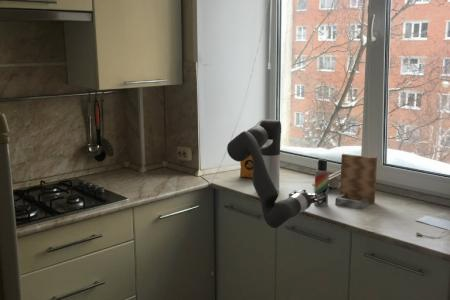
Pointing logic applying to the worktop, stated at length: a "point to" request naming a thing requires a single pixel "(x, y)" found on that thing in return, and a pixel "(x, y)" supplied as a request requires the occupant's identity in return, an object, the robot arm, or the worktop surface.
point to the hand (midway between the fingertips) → (314, 193)
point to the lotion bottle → (322, 180)
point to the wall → (333, 179)
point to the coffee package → (247, 167)
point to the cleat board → (357, 181)
